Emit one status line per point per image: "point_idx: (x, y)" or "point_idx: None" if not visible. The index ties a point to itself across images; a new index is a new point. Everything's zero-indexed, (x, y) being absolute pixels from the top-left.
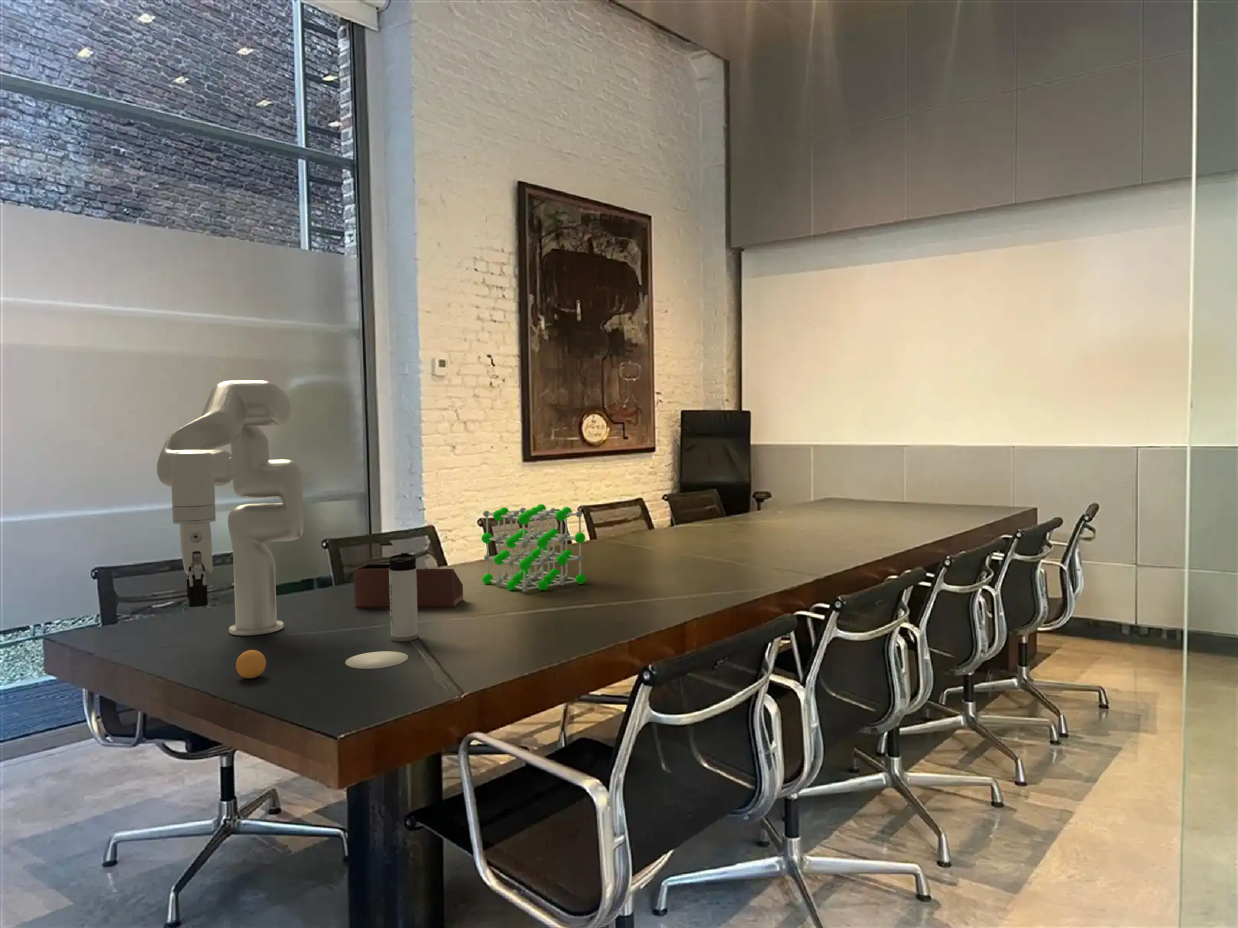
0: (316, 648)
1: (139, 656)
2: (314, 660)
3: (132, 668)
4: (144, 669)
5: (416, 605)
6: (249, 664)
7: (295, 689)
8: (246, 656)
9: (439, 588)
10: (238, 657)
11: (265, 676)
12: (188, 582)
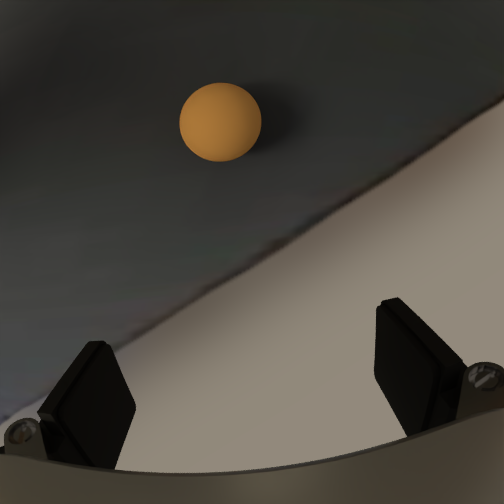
0: (30, 33)
1: (11, 367)
2: (124, 9)
3: None
4: None
5: None
6: (260, 121)
7: (362, 40)
8: (247, 127)
9: None
10: (219, 153)
11: None
12: (112, 468)
